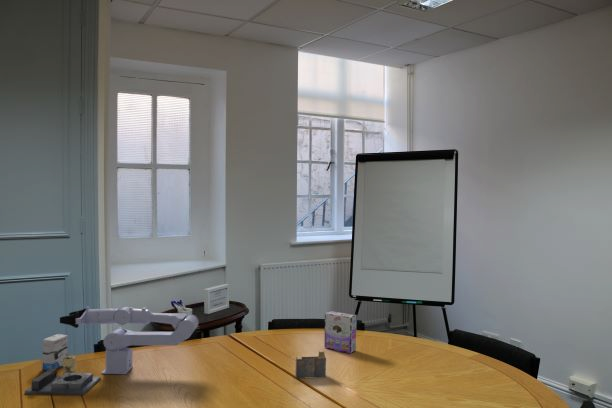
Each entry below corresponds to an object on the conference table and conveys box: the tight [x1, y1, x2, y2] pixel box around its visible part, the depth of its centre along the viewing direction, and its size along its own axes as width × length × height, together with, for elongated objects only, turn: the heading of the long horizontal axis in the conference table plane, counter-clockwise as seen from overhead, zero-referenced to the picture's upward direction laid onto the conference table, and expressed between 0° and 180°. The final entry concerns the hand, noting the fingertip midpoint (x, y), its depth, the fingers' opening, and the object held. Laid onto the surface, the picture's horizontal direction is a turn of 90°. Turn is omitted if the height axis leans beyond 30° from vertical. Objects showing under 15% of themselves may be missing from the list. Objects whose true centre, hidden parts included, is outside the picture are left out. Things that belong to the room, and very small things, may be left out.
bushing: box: [62, 355, 77, 375], centre depth 183 cm, size 4×4×6 cm
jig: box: [24, 368, 101, 396], centre depth 171 cm, size 20×14×4 cm
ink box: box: [41, 333, 69, 371], centre depth 190 cm, size 8×5×12 cm, turn 168°
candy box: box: [323, 310, 358, 354], centre depth 218 cm, size 14×6×16 cm, turn 58°
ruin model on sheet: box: [295, 351, 327, 379], centre depth 186 cm, size 11×3×10 cm, turn 99°
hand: (65, 317), depth 186 cm, fingers open, 7 cm apart
